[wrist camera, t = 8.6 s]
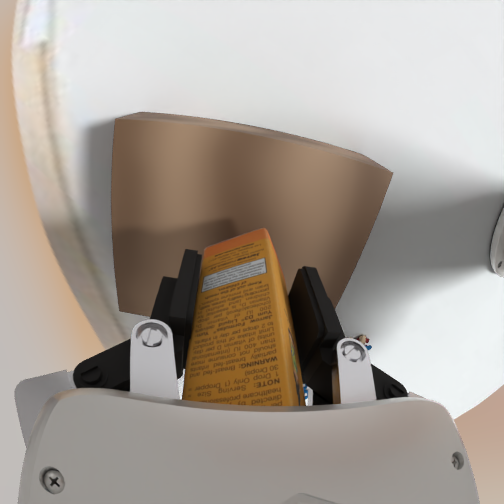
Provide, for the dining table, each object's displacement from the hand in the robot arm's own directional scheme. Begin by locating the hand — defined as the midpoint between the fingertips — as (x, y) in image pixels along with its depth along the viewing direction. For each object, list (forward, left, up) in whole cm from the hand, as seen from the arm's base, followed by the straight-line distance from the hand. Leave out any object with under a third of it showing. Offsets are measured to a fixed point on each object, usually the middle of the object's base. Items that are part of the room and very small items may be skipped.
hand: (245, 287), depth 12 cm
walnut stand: (0, 0, -7) cm, 7 cm away
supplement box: (0, 0, -2) cm, 2 cm away
